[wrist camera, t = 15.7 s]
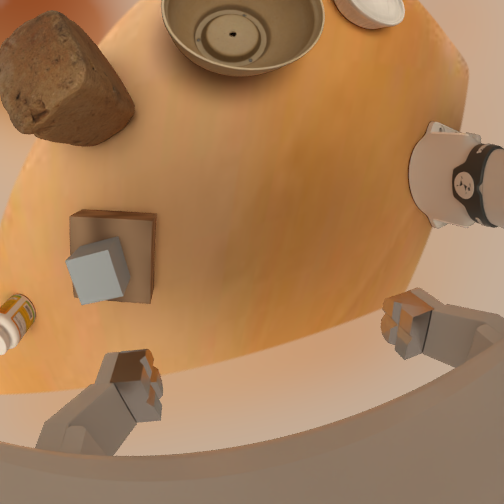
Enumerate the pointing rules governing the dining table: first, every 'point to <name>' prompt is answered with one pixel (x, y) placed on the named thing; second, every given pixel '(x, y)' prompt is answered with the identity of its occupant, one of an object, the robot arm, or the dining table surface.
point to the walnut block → (132, 242)
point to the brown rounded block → (61, 83)
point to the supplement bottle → (15, 321)
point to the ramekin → (372, 12)
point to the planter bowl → (243, 32)
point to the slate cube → (99, 271)
